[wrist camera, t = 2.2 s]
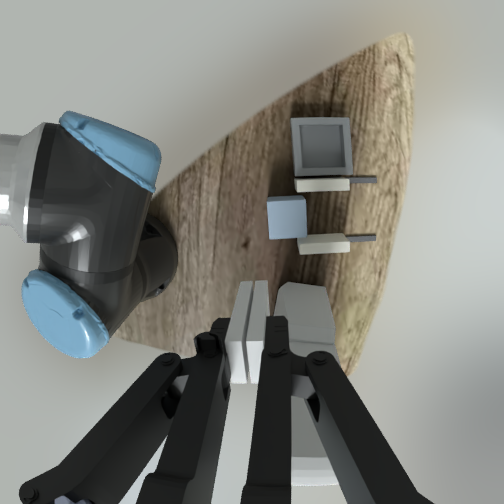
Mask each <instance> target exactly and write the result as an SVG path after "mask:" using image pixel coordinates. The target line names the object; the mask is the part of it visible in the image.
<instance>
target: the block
mask: <svg viewBox="0 0 504 504" xmlns="http://www.w3.org/2000/svg"><path fill="white" fill-rule="evenodd" d="M267 209H268V223H269V238H270V239H284V238H303V237H307V216H306V199H305V198H304V197H303V196H302V195H295V196H276V197H268V199H267Z"/></svg>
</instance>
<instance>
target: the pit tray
mask: <svg viewBox="0 0 504 504" xmlns="http://www.w3.org/2000/svg"><path fill="white" fill-rule="evenodd" d="M290 129H291V141H292V154H293V168H294V175H295V176H311V175H353V166H352V148H351V135H350V123H349V118H341V117H309V118H291V119H290Z"/></svg>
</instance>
